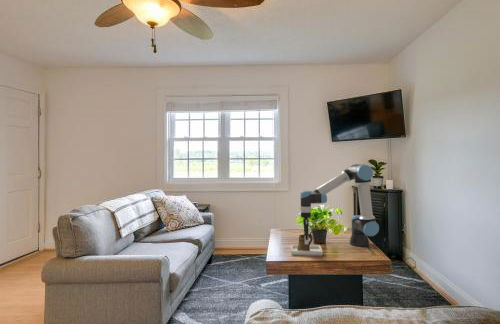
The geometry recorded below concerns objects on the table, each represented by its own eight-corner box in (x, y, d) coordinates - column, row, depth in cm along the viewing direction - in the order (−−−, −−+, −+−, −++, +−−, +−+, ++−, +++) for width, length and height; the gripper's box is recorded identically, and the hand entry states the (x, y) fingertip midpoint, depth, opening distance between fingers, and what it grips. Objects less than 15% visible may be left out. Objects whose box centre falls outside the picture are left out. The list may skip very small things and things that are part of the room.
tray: (320, 249, 237) (320, 245, 237) (322, 255, 221) (322, 251, 221) (291, 248, 240) (291, 244, 240) (291, 255, 224) (291, 251, 224)
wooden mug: (315, 253, 224) (315, 227, 225) (296, 251, 228) (296, 226, 228) (316, 250, 232) (316, 225, 233) (298, 248, 236) (298, 224, 237)
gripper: (300, 209, 241) (300, 238, 241) (301, 214, 220) (301, 246, 220) (309, 209, 240) (310, 238, 240) (312, 214, 219) (312, 246, 220)
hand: (306, 242), depth 230 cm, fingers open, 8 cm apart
